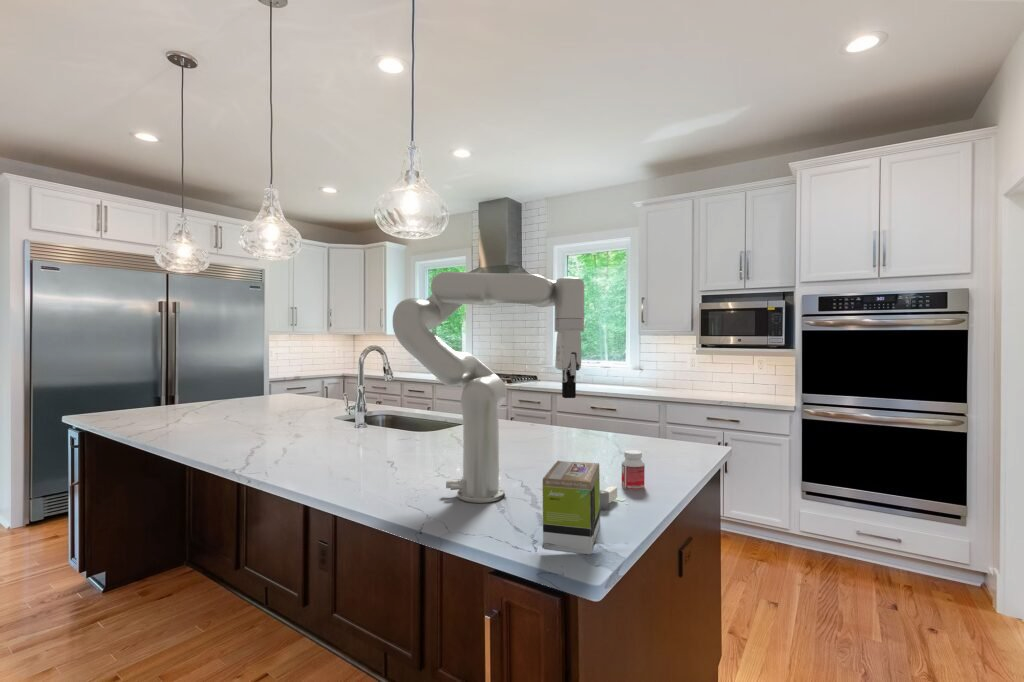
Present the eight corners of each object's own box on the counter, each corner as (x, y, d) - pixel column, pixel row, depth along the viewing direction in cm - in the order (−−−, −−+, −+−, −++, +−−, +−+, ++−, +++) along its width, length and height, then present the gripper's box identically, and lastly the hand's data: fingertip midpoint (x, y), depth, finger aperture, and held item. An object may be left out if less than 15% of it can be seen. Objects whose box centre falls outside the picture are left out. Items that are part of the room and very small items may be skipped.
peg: (606, 511, 119) (606, 494, 119) (594, 508, 121) (594, 492, 121) (619, 501, 126) (619, 486, 126) (608, 498, 128) (608, 484, 128)
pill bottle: (649, 492, 138) (649, 452, 138) (633, 496, 135) (633, 455, 135) (632, 487, 143) (632, 448, 143) (616, 490, 140) (617, 451, 140)
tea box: (556, 523, 115) (557, 458, 115) (601, 528, 112) (601, 462, 112) (541, 550, 100) (541, 476, 100) (591, 556, 97) (592, 480, 97)
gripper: (549, 326, 136) (549, 394, 136) (560, 325, 121) (560, 401, 121) (576, 326, 136) (576, 394, 137) (591, 325, 122) (590, 401, 122)
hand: (568, 397), depth 129 cm, fingers closed
